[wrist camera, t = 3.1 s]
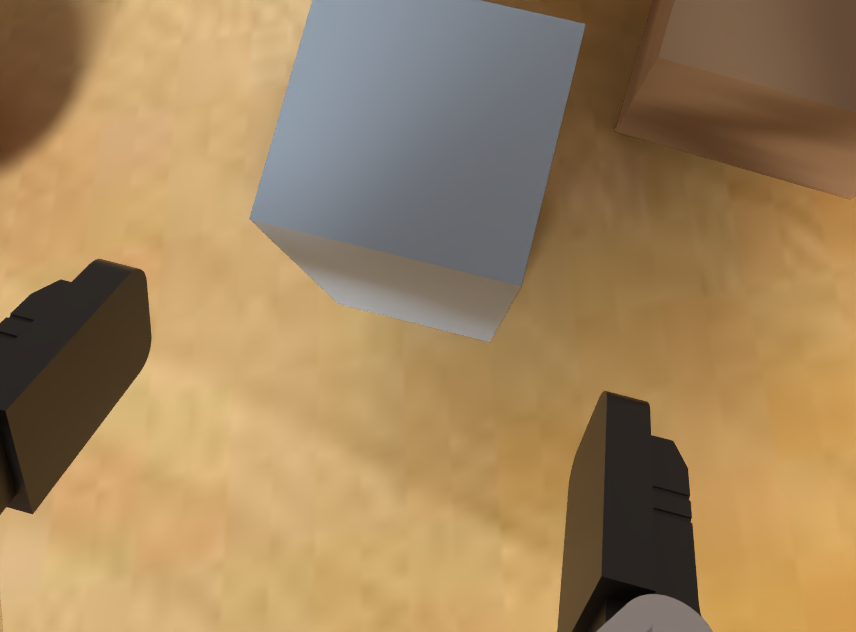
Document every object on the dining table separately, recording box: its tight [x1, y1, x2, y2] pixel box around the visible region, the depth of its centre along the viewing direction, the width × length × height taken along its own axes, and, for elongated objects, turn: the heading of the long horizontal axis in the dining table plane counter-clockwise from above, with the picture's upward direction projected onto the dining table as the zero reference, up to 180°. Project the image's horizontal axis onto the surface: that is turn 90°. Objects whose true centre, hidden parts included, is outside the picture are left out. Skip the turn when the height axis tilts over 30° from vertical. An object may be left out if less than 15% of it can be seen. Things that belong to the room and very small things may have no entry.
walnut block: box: [615, 0, 856, 199], centre depth 21 cm, size 7×7×5 cm
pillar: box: [250, 0, 586, 342], centre depth 18 cm, size 4×4×10 cm
